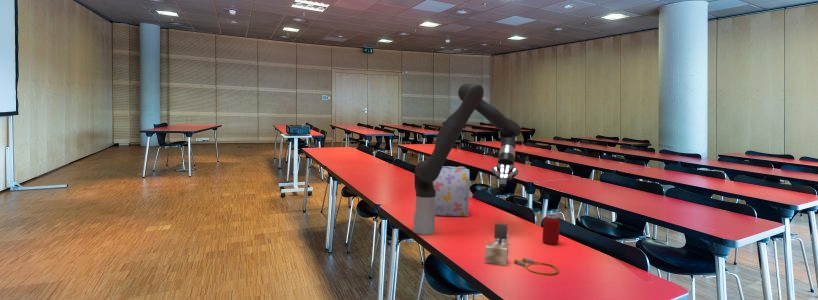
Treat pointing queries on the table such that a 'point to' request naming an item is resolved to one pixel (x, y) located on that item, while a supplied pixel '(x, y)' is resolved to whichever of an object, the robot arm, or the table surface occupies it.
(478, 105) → the robot arm
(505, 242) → the guide sleeve
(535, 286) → the table surface
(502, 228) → the dark grey block
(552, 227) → the beverage can
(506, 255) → the socket block
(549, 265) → the extension cord
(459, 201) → the lunch bag
